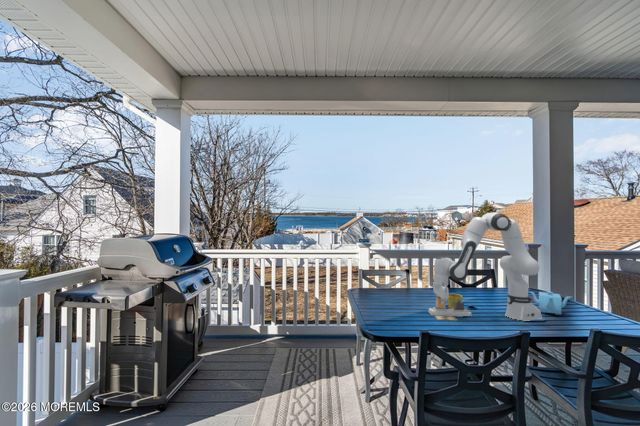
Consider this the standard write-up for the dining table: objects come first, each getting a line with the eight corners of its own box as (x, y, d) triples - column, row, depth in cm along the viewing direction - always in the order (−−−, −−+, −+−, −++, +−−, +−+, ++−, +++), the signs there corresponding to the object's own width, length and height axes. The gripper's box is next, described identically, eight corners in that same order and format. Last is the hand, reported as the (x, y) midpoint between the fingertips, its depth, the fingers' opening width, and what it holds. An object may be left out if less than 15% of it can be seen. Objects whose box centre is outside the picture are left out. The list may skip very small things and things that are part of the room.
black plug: (461, 310, 218) (462, 298, 218) (464, 311, 214) (464, 300, 214) (454, 310, 218) (454, 298, 218) (456, 311, 214) (456, 299, 215)
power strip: (466, 313, 219) (467, 308, 219) (471, 316, 212) (471, 310, 212) (428, 312, 220) (428, 306, 220) (431, 315, 213) (431, 309, 213)
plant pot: (463, 312, 223) (464, 297, 223) (447, 310, 225) (447, 296, 225) (460, 308, 233) (460, 294, 233) (444, 306, 235) (445, 292, 235)
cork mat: (453, 317, 210) (453, 316, 210) (457, 320, 203) (457, 319, 203) (434, 316, 211) (434, 315, 211) (437, 319, 204) (437, 318, 204)
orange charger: (443, 305, 219) (443, 294, 219) (445, 307, 215) (445, 295, 215) (435, 305, 219) (436, 294, 219) (437, 307, 215) (437, 295, 215)
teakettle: (527, 306, 243) (527, 286, 243) (570, 312, 230) (570, 291, 231) (528, 314, 222) (528, 292, 222) (575, 321, 209) (575, 298, 209)
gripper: (451, 285, 206) (451, 307, 206) (441, 279, 227) (440, 299, 227) (441, 284, 207) (440, 307, 207) (431, 278, 227) (431, 299, 227)
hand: (440, 303), depth 217 cm, fingers closed on orange charger, 4 cm apart
